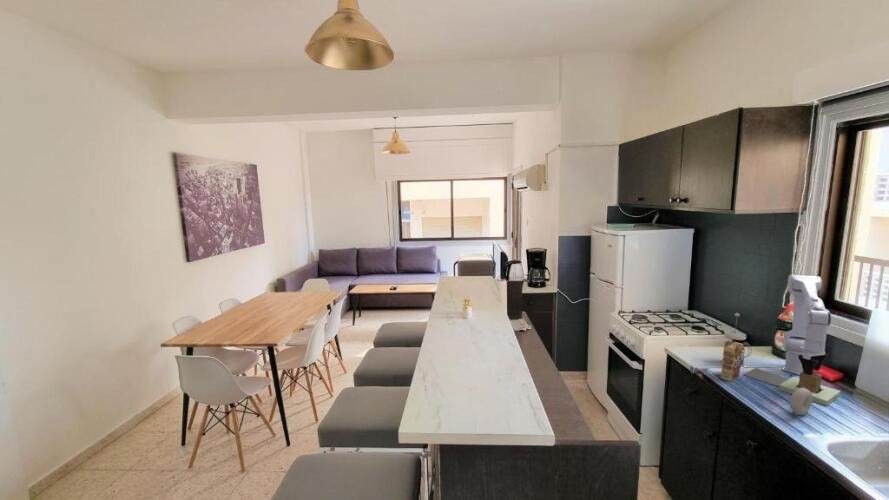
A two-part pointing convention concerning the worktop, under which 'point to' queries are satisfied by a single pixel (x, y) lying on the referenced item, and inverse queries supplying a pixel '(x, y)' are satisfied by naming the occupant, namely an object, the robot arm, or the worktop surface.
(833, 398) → the pocket holder
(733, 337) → the french press
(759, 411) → the worktop surface
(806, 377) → the walnut block
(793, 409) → the donut
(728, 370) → the candy box
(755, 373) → the rubber mat
